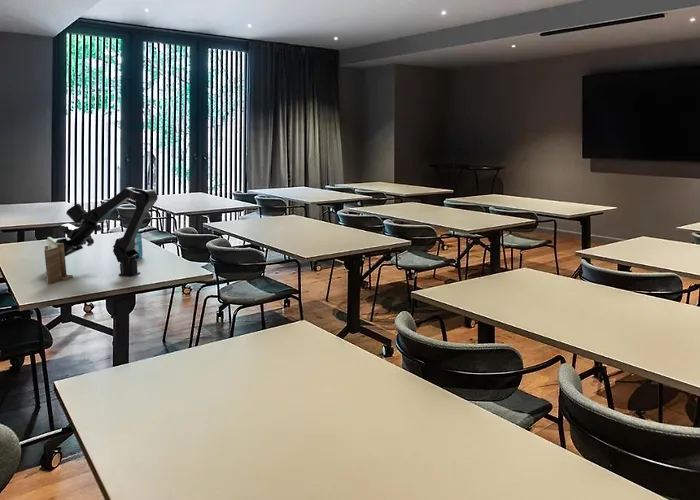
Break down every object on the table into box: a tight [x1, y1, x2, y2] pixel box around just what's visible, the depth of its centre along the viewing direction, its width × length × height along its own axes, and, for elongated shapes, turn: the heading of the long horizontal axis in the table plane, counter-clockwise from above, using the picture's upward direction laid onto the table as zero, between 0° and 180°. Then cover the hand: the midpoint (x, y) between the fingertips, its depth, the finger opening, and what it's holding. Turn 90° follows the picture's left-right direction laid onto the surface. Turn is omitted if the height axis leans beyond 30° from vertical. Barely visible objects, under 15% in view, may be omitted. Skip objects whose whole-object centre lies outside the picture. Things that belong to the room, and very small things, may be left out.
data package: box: [134, 233, 144, 260], centre depth 275 cm, size 12×4×12 cm, turn 176°
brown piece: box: [44, 243, 74, 285], centre depth 233 cm, size 5×11×15 cm, turn 169°
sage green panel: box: [44, 236, 58, 250], centre depth 245 cm, size 3×22×13 cm, turn 38°
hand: (64, 255), depth 250 cm, fingers closed
